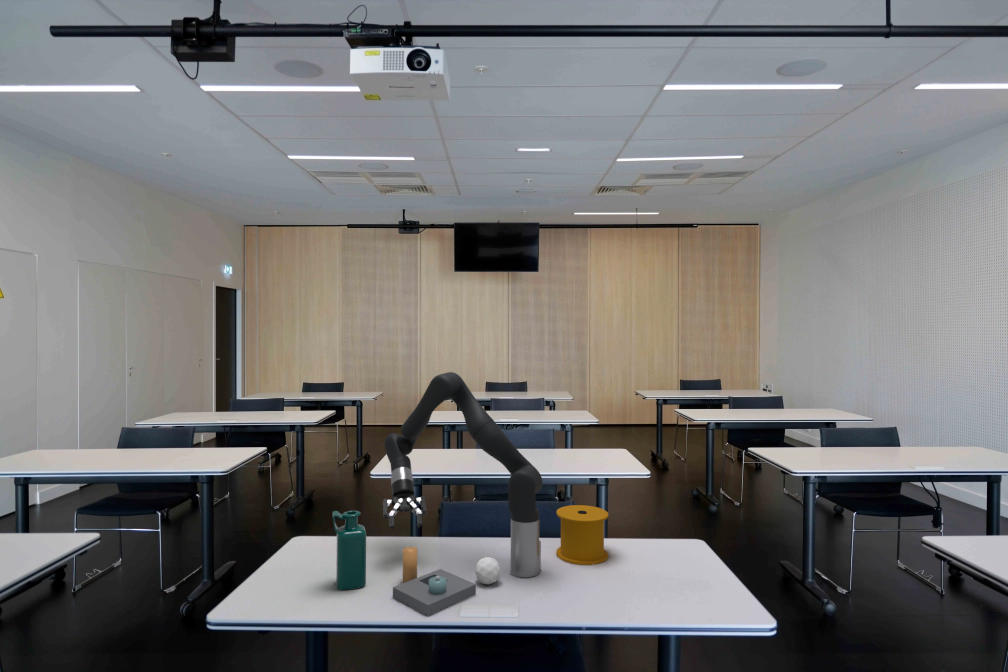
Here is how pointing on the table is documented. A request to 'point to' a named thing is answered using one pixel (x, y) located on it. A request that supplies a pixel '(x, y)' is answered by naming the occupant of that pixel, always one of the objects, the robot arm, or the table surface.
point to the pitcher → (350, 552)
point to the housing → (434, 591)
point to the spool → (582, 534)
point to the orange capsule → (409, 563)
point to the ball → (487, 570)
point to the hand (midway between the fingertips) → (406, 527)
